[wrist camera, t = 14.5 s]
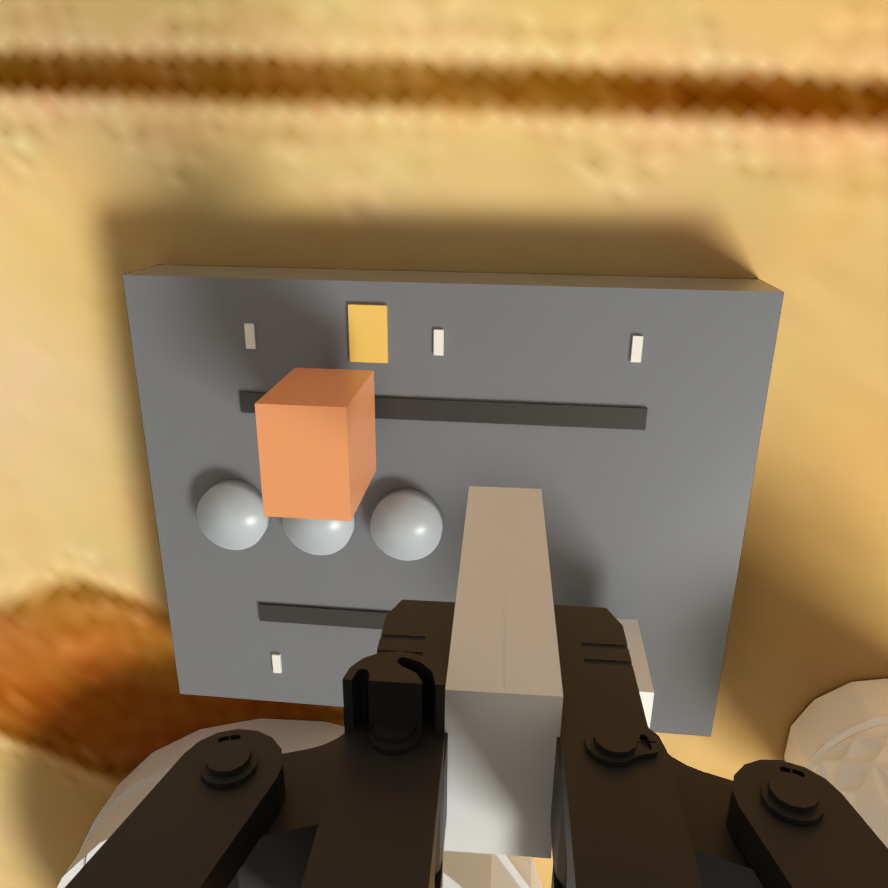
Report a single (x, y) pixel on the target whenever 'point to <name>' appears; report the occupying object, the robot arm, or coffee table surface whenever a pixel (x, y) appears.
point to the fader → (317, 443)
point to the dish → (464, 873)
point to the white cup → (848, 746)
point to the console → (453, 457)
